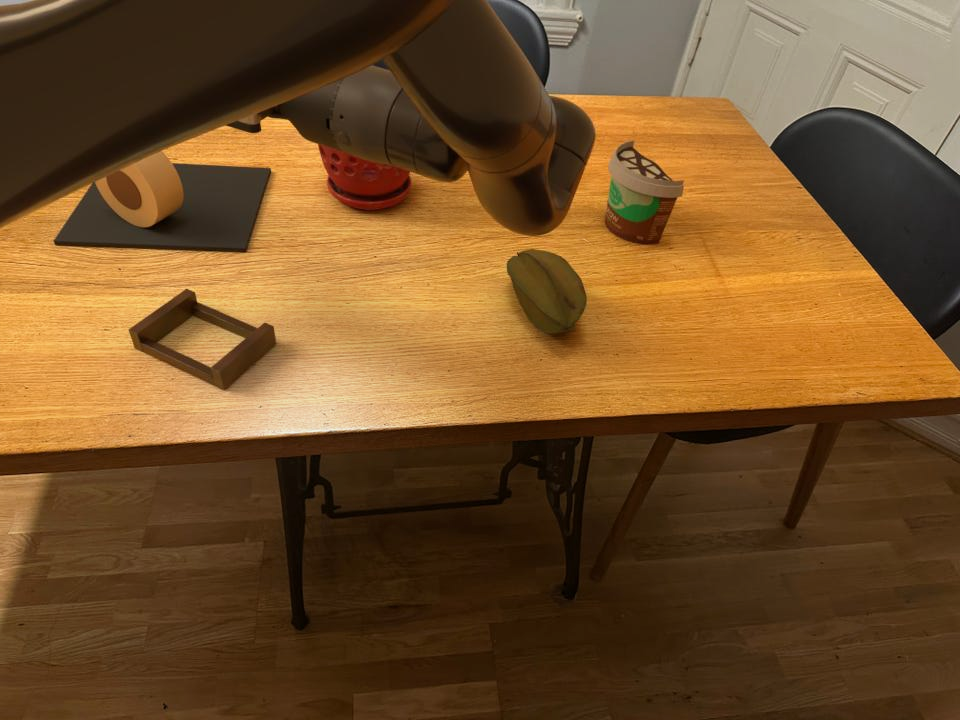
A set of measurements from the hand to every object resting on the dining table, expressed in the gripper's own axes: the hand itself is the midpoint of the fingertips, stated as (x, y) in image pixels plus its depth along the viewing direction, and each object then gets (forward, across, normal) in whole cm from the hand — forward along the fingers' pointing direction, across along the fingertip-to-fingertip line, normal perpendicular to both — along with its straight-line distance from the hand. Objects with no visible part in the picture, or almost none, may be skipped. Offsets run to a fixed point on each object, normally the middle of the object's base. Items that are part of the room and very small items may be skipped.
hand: (211, 63), depth 63 cm
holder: (-4, +11, +25) cm, 27 cm away
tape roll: (+15, -3, +23) cm, 28 cm away
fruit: (-31, -13, +25) cm, 42 cm away
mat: (+19, -8, +25) cm, 32 cm away
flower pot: (0, -25, +25) cm, 35 cm away
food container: (-34, -37, +25) cm, 56 cm away
